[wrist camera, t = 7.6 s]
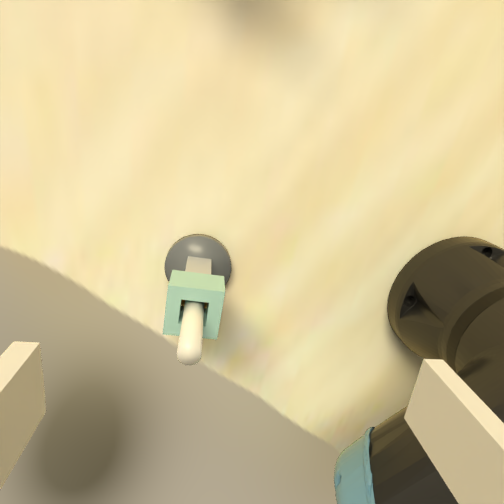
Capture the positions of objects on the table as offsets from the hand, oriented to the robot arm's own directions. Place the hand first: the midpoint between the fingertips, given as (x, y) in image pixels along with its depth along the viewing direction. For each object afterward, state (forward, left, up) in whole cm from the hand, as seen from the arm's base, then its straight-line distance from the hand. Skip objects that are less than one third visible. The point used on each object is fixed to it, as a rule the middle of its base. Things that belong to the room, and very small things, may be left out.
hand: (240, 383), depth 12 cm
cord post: (-3, +6, -25) cm, 26 cm away
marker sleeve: (-3, +6, -18) cm, 19 cm away
